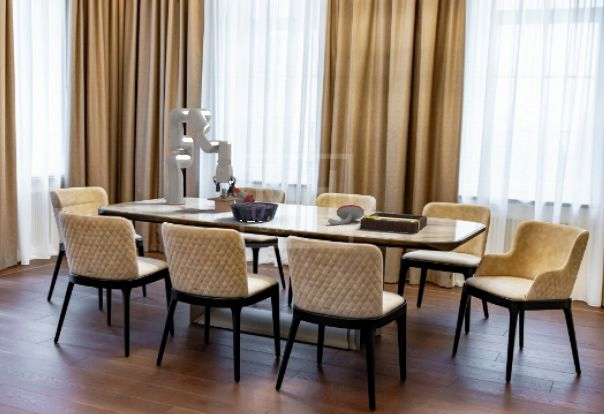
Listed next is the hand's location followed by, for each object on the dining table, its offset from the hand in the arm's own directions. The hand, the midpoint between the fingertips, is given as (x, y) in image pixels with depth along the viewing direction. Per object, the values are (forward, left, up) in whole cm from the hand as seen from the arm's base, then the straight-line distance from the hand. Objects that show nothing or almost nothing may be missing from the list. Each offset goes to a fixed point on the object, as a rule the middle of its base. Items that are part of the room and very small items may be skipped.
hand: (224, 192), depth 380 cm
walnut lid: (0, 0, -4) cm, 4 cm away
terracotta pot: (0, 0, -11) cm, 11 cm away
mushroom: (+72, +11, -12) cm, 74 cm away
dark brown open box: (+100, +14, -12) cm, 102 cm away
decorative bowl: (+30, -12, -12) cm, 34 cm away
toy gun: (-8, +20, -12) cm, 24 cm away
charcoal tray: (-14, -12, -11) cm, 22 cm away
